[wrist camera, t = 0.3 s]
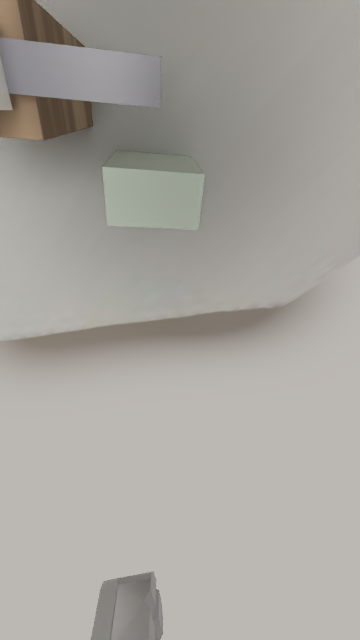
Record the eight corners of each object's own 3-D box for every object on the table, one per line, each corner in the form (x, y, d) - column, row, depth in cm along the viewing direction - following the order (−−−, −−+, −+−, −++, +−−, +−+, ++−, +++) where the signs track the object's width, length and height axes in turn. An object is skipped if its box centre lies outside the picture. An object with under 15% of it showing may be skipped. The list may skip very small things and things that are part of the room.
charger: (161, 41, 21) (164, 18, 16) (159, 122, 24) (161, 126, 19) (-92, 10, 19) (-186, -28, 14) (-60, 102, 22) (-126, 100, 17)
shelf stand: (85, 47, 38) (-16, -46, 15) (92, 126, 44) (26, 145, 21) (-7, 36, 37) (-269, -83, 14) (12, 119, 42) (-154, 131, 19)
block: (190, 156, 47) (205, 174, 34) (186, 199, 51) (198, 230, 38) (116, 150, 46) (102, 166, 33) (118, 195, 50) (106, 225, 37)
